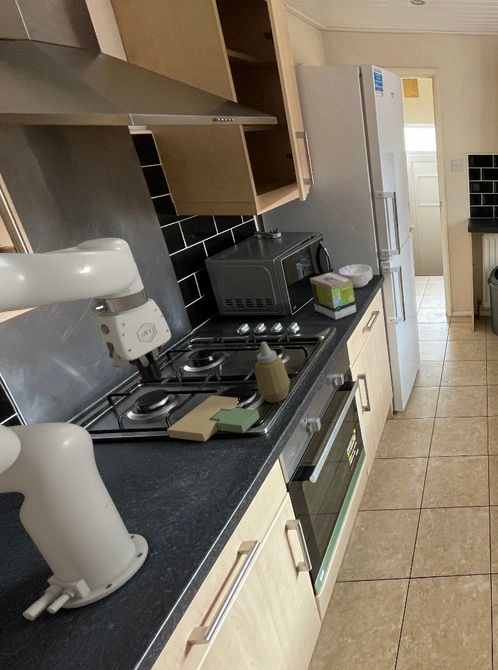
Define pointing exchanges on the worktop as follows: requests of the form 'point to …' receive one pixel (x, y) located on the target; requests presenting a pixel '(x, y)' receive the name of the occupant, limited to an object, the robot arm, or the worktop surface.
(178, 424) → the beige pad
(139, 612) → the worktop surface
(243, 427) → the green pad
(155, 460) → the worktop surface
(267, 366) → the squeeze bottle
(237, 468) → the worktop surface
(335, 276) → the tea box
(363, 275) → the paper bowls
